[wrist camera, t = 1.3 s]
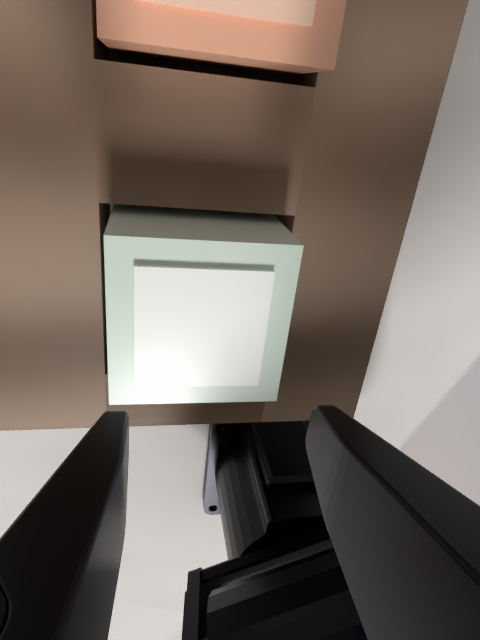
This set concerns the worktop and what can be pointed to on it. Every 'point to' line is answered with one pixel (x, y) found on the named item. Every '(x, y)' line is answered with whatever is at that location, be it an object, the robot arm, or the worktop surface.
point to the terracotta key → (227, 32)
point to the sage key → (197, 304)
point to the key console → (205, 192)
